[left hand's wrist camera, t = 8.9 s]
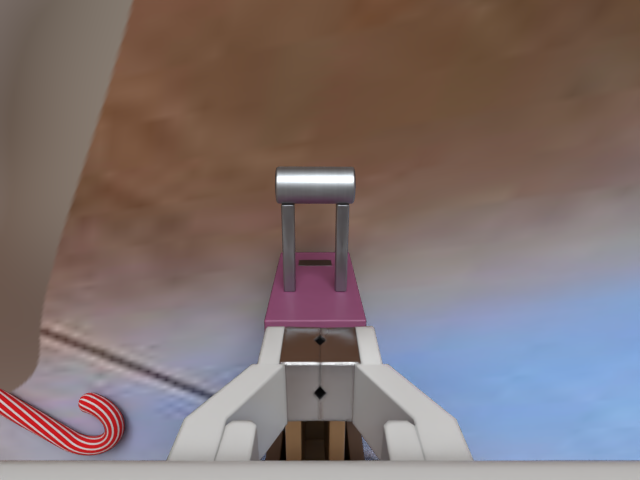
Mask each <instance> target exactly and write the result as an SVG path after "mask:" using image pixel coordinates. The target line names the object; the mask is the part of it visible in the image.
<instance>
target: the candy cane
mask: <svg viewBox="0 0 640 480" xmlns="http://www.w3.org/2000/svg"><path fill="white" fill-rule="evenodd" d="M78 405H79V408H80V410H81V411H83V412H86V413H88V414H91V415H93V416H94V417H96V418H97V419H98V420H99V421H100V422H101V423H102V424H103V426H104V428H105V432H104V433H103V434H101V435H98V436H88V435H83V434H80V433H78V432H76V431H74V430H72V429H71V428H69V427H67V426H65V425H64V424H62V423H60V422H58V421H57V420H55V419H53V418H51V417H50V416H48V415H46V414H44V413H43V412H41V411H39V410H37V409H36V408H34V407H32V406H31V405H29V404H27V403H25V402H23V401H22V400H20V399H18V398H17V397H15V396H13V395H11V394H10V393H8V392H6V391H4V390H3V389H1V388H0V415H1V416H3V417H5V418H7V419H9V420H10V421H12V422H14V423H16V424H18V425H19V426H21V427H23V428H25V429H27V430H29V431H30V432H32V433H34V434H36V435H38V436H39V437H41V438H43V439H45V440H47V441H48V442H50V443H52V444H54V445H56V446H57V447H59V448H61V449H63V450H65V451H67V452H71V453H74V454H78V455H97V454H101V453H104V452H106V451H108V450H110V449H112V448H113V447H114V446H115V445H116V444H117V443H118V442H119V441H120V439H121V438H122V435H123V433H124V428H125V424H124V418H123V416H122V413H121V412H120V410H119V409H118V407H117V406H116V405H115V404H114V403H112V402H111V401H110V400H108V399H107V398H105V397H103V396H101V395H98V394H95V393H86V394H84V395H83V396H82V397H81V398H80V399H79V403H78Z"/></svg>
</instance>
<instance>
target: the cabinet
mask: <svg viewBox="0 0 640 480" xmlns="http://www.w3.org/2000/svg"><path fill="white" fill-rule="evenodd" d="M358 460H365V457H364V450H363V444H362V437H361V434H360V433H359V431H358V430H357V428H356V427H355V426H354V424H353V422H349V421H345V448H344V461H358ZM265 461H286V436H285V428H284V429H283V430H282V432H281V433H280V434H279V436H278V437H277V438H276V440H275V441H274V442H273V444H272V445H271V447H270V448H269V449H268V451H267V452H266V459H265Z"/></svg>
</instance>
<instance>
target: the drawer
mask: <svg viewBox="0 0 640 480" xmlns="http://www.w3.org/2000/svg"><path fill="white" fill-rule="evenodd" d="M275 193H276V201H277V203H282V205H281V212H282V246H283V253H281V255H280V259H279V263H278V267H277V271H276V275H275V279H274V283H273V287H272V292H271V296H270V300H269V304H268V308H267V312H266V316H265V320H264V326H265V329H266V328H267V327H268V326H284V327H286V326H288V327H320V328H329V327H362V326H366V318H365V314H364V310H363V306H362V302H361V298H360V294H359V290H358V286H357V282H356V278H355V274H354V271H353V267H352V263H351V259H350V255H349V253H348V229H349V204H352V203H353V202H354V199H355V170H354V168H353V167H277V168H276V173H275ZM295 203H303V204H336V229H335V252H321V253H295ZM285 436H286V461H344V448H345V421H291V422H287V425H286V426H285Z"/></svg>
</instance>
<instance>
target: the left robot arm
mask: <svg viewBox="0 0 640 480" xmlns="http://www.w3.org/2000/svg"><path fill="white" fill-rule="evenodd" d="M291 421H349V422H353V424H354V426H355V427H356V428H357V430H358V431H359V433H360V434H361V435H362V437H363V438H364V439H365V441H366V442H367V443H368V445H369V446H370V448H371V449H372V450H373V452H374V453H375V454H376V456H377V457H378V458H379V460H358V461H260V460H261V459H262V457H263V456H264V455H265V453H266V452H267V451H268V449H269V448H270V447H271V445H272V444H273V442H274V441H275V440H276V438H277V437H278V436H279V434H280V433H281V432H282V430H283V429H284V428H285V426H286V425H287V422H291ZM0 480H640V460H551V461H474V460H473V458H472V456H471V453H470V451H469V448H468V446H467V444H466V441H465V439H464V437H463V434H462V432H461V429H460V427H459V425H458V422H457V420H456V419H455V418H454V417H453V416H451V415H450V414H449V413H448V412H446V411H445V410H444V409H443V408H442V407H440V406H439V405H438V404H437V403H435V402H434V401H433V400H432V399H430V398H429V397H428V396H427V395H425V394H424V393H423V392H422V391H421V390H419V389H418V388H417V387H416V386H414V385H413V384H412V383H411V382H409V381H408V380H407V379H406V378H404V377H403V376H402V375H401V374H399V373H398V372H397V371H396V370H395V369H393V368H392V367H391V366H390V365H388V364H383V363H382V359H381V355H380V351H379V347H378V343H377V338H376V334H375V330H374V327H373V326H362V327H329V328H320V327H288V326H286V327H284V326H268V327H267V328H266V329H265V334H264V338H263V342H262V346H261V351H260V355H259V359H258V363H257V364H252V365H250V366H249V367H248V368H247V369H245V370H244V371H243V372H242V373H241V374H239V375H238V376H237V377H236V378H234V379H233V380H232V381H231V382H229V383H228V384H227V385H226V386H224V387H223V388H222V389H221V390H219V391H218V392H217V393H216V394H214V395H213V396H212V397H211V398H209V399H208V400H207V401H206V402H204V403H203V404H202V405H201V406H199V407H198V408H197V409H196V410H195V411H193V412H192V413H191V414H190V415H188V416H187V417H186V418H185V419H184V420H183V423H182V425H181V427H180V430H179V432H178V434H177V437H176V439H175V442H174V444H173V446H172V449H171V451H170V453H169V456H168V458H167V460H166V461H0Z"/></svg>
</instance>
